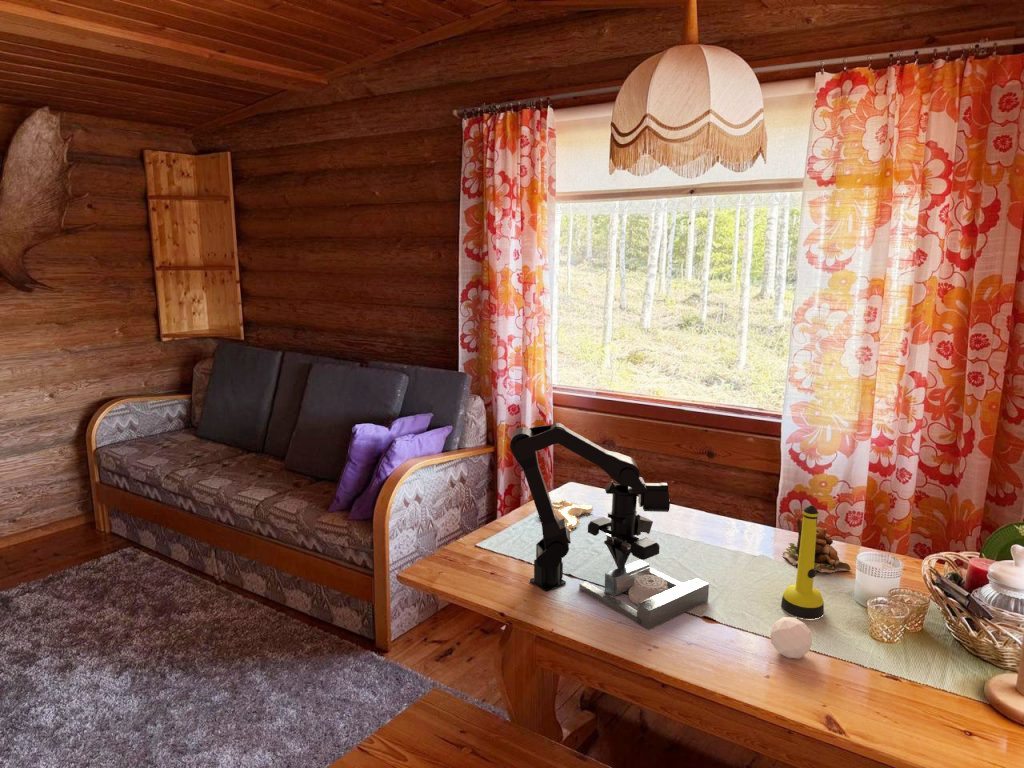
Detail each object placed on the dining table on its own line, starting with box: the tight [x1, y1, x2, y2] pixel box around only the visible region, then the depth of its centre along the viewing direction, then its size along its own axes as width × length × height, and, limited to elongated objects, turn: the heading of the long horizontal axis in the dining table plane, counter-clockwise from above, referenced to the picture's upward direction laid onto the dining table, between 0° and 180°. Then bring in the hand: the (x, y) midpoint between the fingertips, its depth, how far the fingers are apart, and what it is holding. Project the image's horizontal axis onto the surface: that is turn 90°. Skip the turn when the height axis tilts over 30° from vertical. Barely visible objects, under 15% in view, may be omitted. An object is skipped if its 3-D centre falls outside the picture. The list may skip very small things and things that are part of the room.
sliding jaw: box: [604, 559, 651, 597], centre depth 162 cm, size 12×4×5 cm, turn 127°
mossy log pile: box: [782, 517, 852, 574], centre depth 175 cm, size 14×15×12 cm
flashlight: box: [780, 504, 825, 619], centre depth 150 cm, size 25×9×9 cm
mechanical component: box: [628, 574, 670, 606], centre depth 157 cm, size 10×4×10 cm
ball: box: [770, 616, 813, 659], centre depth 135 cm, size 8×8×8 cm
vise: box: [579, 567, 710, 631], centre depth 159 cm, size 20×22×4 cm
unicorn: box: [551, 499, 594, 533], centre depth 205 cm, size 20×4×17 cm
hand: (620, 569), depth 164 cm, fingers closed
